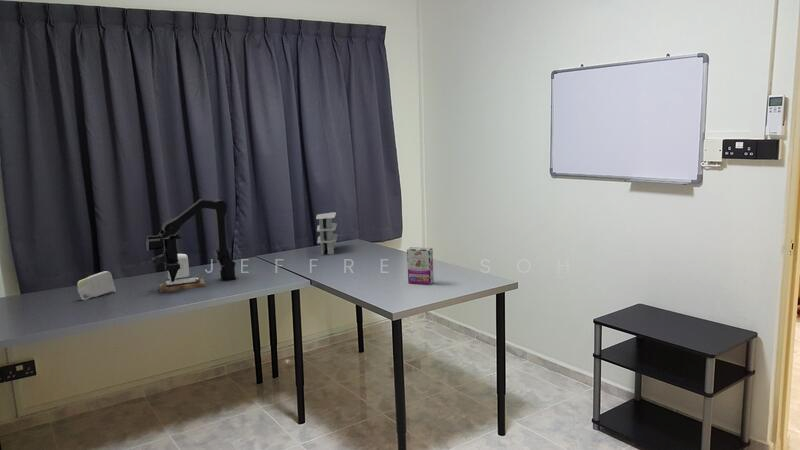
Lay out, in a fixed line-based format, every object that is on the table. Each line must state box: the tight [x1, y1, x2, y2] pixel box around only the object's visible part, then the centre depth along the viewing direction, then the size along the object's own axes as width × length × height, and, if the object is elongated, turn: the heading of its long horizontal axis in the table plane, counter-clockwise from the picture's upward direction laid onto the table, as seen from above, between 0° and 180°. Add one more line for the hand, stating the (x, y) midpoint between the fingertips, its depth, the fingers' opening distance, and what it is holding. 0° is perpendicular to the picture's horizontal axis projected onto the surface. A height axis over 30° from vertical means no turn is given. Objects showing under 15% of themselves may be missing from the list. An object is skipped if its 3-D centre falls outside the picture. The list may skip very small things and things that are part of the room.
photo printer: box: [167, 253, 190, 280], centre depth 296 cm, size 10×4×12 cm, turn 123°
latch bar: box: [165, 276, 200, 285], centre depth 279 cm, size 15×4×1 cm, turn 115°
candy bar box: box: [406, 247, 435, 286], centre depth 269 cm, size 11×5×16 cm, turn 68°
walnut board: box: [159, 276, 206, 293], centre depth 279 cm, size 20×10×3 cm, turn 115°
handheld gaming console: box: [76, 270, 117, 301], centre depth 267 cm, size 11×3×15 cm
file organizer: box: [315, 211, 339, 256], centre depth 346 cm, size 26×35×22 cm
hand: (172, 281), depth 277 cm, fingers closed, pressing on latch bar
